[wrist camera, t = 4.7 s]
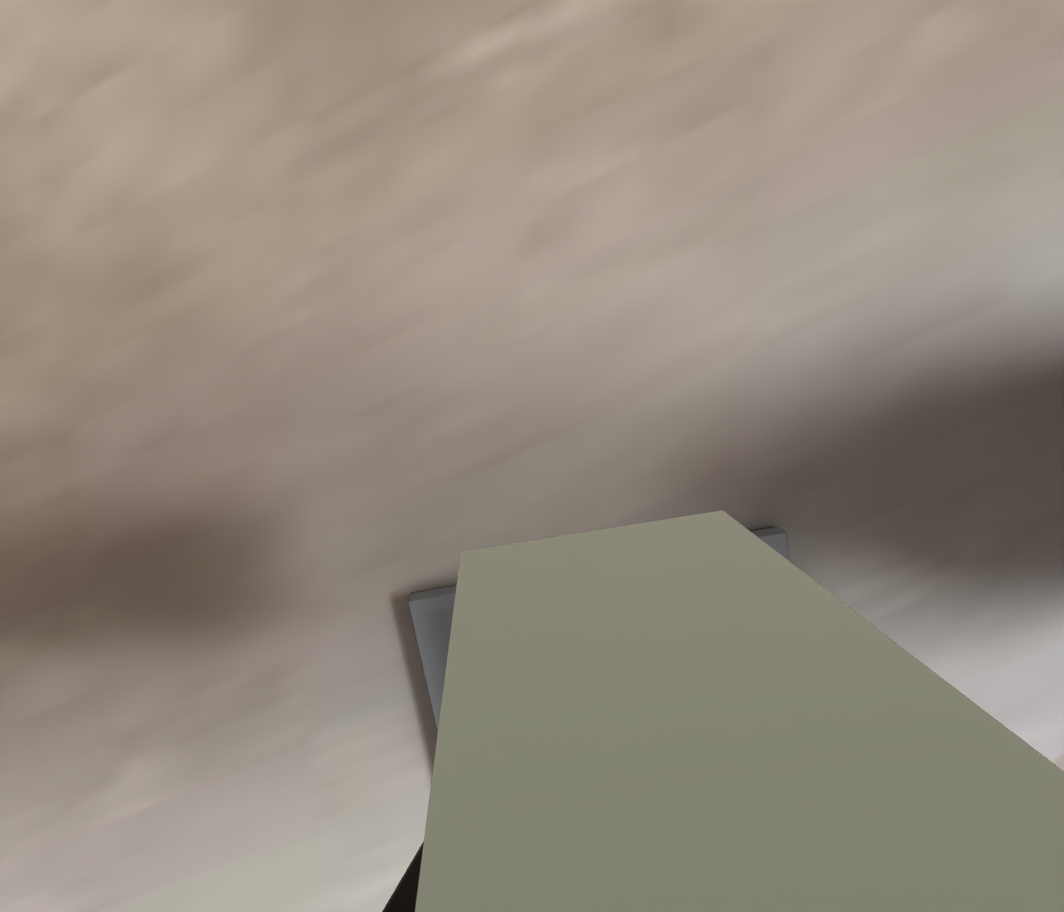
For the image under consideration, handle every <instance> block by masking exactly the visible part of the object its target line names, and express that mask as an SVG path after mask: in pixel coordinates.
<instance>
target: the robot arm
mask: <svg viewBox="0 0 1064 912" xmlns="http://www.w3.org/2000/svg"><path fill="white" fill-rule="evenodd" d="M423 845H424V842H423V843H422V845H421V847H420V848H419V850H418V852H417V853H416V855H415V857H414V859H413V860H412V862H411V864H410V865H409V867H408V869H407V870H406V872H405V874H404V876H403V877H402V879H401V881H400V882H399V884H398V886H397V887H396V889H395V891H394V893H393V894H392V896H391V898H390V899H389V901H388V903H387V904H386V906H385V908H384V910H383V911H382V912H415V907H416V899H417V892H418V884H419V876H420V868H421V860H422V852H423Z"/></svg>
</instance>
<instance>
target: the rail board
mask: <svg viewBox="0 0 1064 912" xmlns="http://www.w3.org/2000/svg"><path fill="white" fill-rule="evenodd" d="M750 532H752V533H753V534H754V535H756V536H757V537H758V538H760V539H761V540H762V541H764V542H765V543H766V544H767V545H769V546H770V547H771V548H773V549H774V550H775V551H777V552H778V553H779V554H781V555H782V556H783V557H784V558H786V559H787V560H788V549H787V536H786V532H785V531H783V530H782V529H780V528H779V527H771V528H766V529H760V530H755V531H750ZM456 586H457V585H454V586H449V587H443V588H438V589H432V590H427V591H421V592H416V593H411V594H410V598H409V601H408V603H409V607H410V612H411V616H412V620H413V625H414V629H415V634H416V638H417V643H418V647H419V652H420V656H421V660H422V665H423V669H424V674H425V678H426V683H427V687H428V692H429V696H430V701H431V705H432V709H433V714H434V718H435V723H436V727H437V732H438V727H439V719H440V711H441V703H442V696H443V688H444V680H445V672H446V664H447V656H448V649H449V641H450V633H451V625H452V617H453V609H454V602H455V594H456Z"/></svg>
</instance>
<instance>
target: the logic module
mask: <svg viewBox="0 0 1064 912" xmlns="http://www.w3.org/2000/svg"><path fill="white" fill-rule="evenodd" d="M415 912H1064V771H1062V770H1061V769H1060V768H1059V767H1057V766H1056V765H1055V764H1053V763H1052V762H1051V761H1050V760H1048V759H1047V758H1046V757H1044V756H1043V755H1042V754H1040V753H1039V752H1038V751H1036V750H1035V749H1034V748H1033V747H1031V746H1030V745H1029V744H1027V743H1026V742H1025V741H1023V740H1022V739H1021V738H1020V737H1018V736H1017V735H1016V734H1014V733H1013V732H1012V731H1010V730H1009V729H1008V728H1006V727H1005V726H1004V725H1003V724H1001V723H1000V722H999V721H997V720H996V719H995V718H993V717H992V716H991V715H989V714H988V713H987V712H986V711H984V710H983V709H982V708H980V707H979V706H978V705H976V704H975V703H974V702H972V701H971V700H970V699H969V698H967V697H966V696H965V695H963V694H962V693H961V692H959V691H958V690H957V689H956V688H954V687H953V686H952V685H950V684H949V683H948V682H946V681H945V680H944V679H942V678H941V677H940V676H939V675H937V674H936V673H935V672H933V671H932V670H931V669H929V668H928V667H927V666H925V665H924V664H923V663H922V662H920V661H919V660H918V659H916V658H915V657H914V656H912V655H911V654H910V653H909V652H907V651H906V650H905V649H903V648H902V647H901V646H899V645H898V644H897V643H895V642H894V641H893V640H892V639H890V638H889V637H888V636H886V635H885V634H884V633H882V632H881V631H880V630H878V629H877V628H876V627H875V626H873V625H872V624H871V623H869V622H868V621H867V620H865V619H864V618H863V617H861V616H860V615H859V614H858V613H856V612H855V611H854V610H852V609H851V608H850V607H848V606H847V605H846V604H845V603H843V602H842V601H841V600H839V599H838V598H837V597H835V596H834V595H833V594H831V593H830V592H829V591H828V590H826V589H825V588H824V587H822V586H821V585H820V584H818V583H817V582H816V581H814V580H813V579H812V578H811V577H809V576H808V575H807V574H805V573H804V572H803V571H801V570H800V569H799V568H798V567H796V566H795V565H794V564H792V563H791V562H790V561H788V560H787V559H786V558H784V557H783V556H782V555H781V554H779V553H778V552H777V551H775V550H774V549H773V548H771V547H770V546H769V545H767V544H766V543H765V542H764V541H762V540H761V539H760V538H758V537H757V536H756V535H754V534H753V533H752V532H750V531H749V530H748V529H747V528H745V527H744V526H743V525H741V524H740V523H739V522H737V521H736V520H735V519H734V518H732V517H731V516H730V515H728V514H727V513H726V512H724V511H723V510H720V511H714V512H708V513H701V514H695V515H689V516H682V517H676V518H670V519H663V520H657V521H651V522H644V523H638V524H632V525H625V526H619V527H613V528H606V529H600V530H594V531H587V532H581V533H575V534H568V535H562V536H556V537H549V538H543V539H537V540H530V541H524V542H518V543H511V544H505V545H499V546H492V547H486V548H480V549H473V550H467V551H461V555H460V562H459V570H458V578H457V586H456V594H455V602H454V609H453V617H452V625H451V633H450V641H449V649H448V656H447V664H446V672H445V680H444V688H443V696H442V703H441V711H440V719H439V727H438V735H437V743H436V751H435V758H434V766H433V774H432V782H431V790H430V798H429V805H428V813H427V821H426V829H425V837H424V845H423V852H422V860H421V868H420V876H419V884H418V892H417V899H416V907H415Z"/></svg>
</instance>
